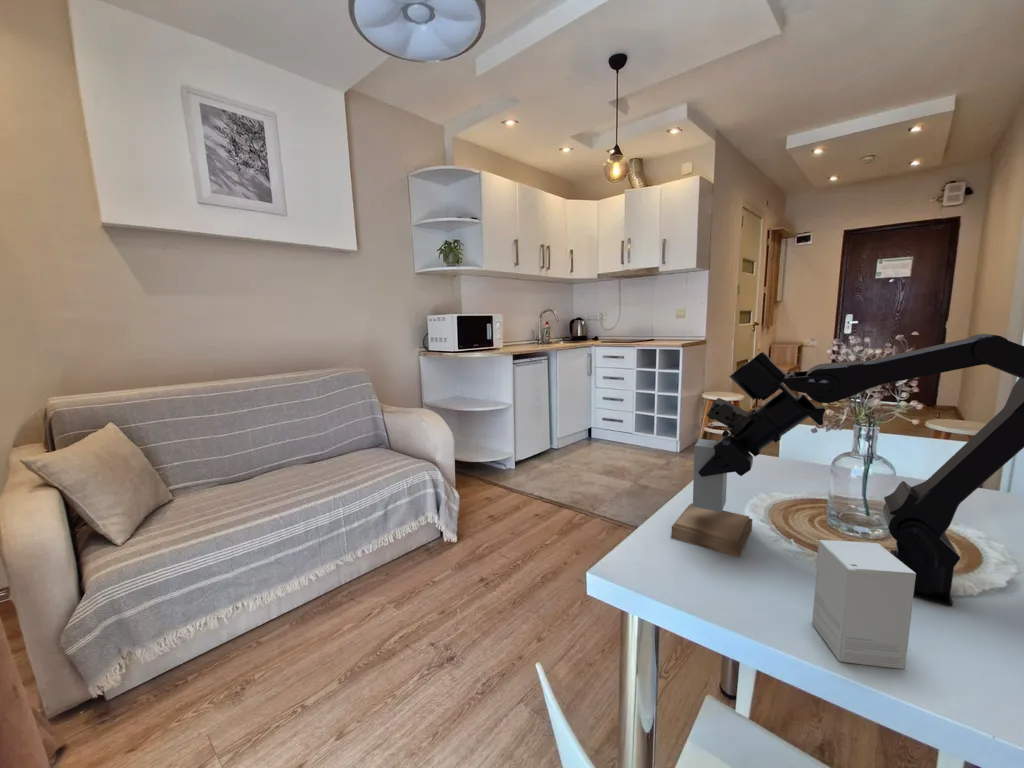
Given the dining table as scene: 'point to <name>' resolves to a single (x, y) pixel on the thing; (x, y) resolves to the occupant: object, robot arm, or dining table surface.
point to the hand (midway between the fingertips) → (702, 470)
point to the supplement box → (863, 603)
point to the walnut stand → (713, 529)
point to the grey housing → (707, 480)
